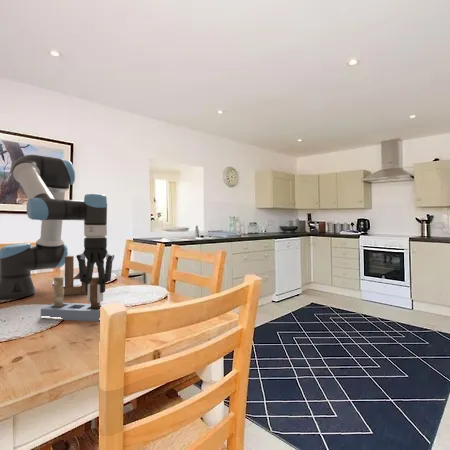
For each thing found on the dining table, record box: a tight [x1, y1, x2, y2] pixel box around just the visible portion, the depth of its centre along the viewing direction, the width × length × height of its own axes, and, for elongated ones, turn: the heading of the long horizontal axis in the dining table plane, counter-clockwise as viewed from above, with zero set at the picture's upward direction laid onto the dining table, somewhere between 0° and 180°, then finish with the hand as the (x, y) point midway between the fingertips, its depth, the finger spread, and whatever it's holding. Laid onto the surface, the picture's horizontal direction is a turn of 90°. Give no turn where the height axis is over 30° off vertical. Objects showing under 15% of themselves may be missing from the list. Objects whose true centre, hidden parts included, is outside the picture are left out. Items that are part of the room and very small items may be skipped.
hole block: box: [40, 302, 103, 322], centre depth 107 cm, size 22×8×4 cm, turn 86°
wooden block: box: [63, 255, 88, 296], centre depth 138 cm, size 4×11×18 cm, turn 115°
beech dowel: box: [53, 276, 64, 308], centre depth 107 cm, size 3×3×14 cm
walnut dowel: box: [90, 276, 101, 310], centre depth 106 cm, size 3×3×14 cm
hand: (95, 301), depth 106 cm, fingers closed on walnut dowel, 3 cm apart
